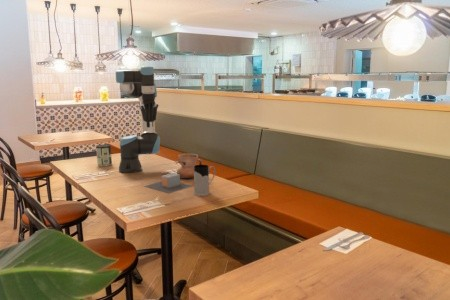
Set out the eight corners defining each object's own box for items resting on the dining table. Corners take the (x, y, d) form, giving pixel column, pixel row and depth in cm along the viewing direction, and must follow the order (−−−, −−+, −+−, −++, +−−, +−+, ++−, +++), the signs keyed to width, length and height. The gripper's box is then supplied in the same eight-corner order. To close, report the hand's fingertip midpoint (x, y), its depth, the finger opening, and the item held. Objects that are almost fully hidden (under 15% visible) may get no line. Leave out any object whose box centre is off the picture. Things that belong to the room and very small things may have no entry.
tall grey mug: (190, 193, 203) (189, 166, 201) (209, 187, 213) (209, 162, 210) (201, 196, 197) (200, 168, 194) (220, 191, 207) (220, 164, 204)
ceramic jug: (180, 181, 227) (179, 158, 224) (171, 176, 239) (171, 154, 236) (207, 178, 235) (207, 156, 232) (197, 173, 248) (197, 152, 245)
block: (161, 176, 215) (172, 172, 222) (161, 186, 216) (173, 182, 223) (167, 177, 211) (179, 174, 218) (168, 188, 212) (180, 184, 219)
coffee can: (105, 162, 282) (104, 143, 280) (115, 163, 277) (113, 145, 274) (94, 165, 274) (92, 146, 271) (103, 166, 268) (102, 147, 266)
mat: (143, 187, 216) (143, 186, 216) (167, 180, 230) (167, 179, 230) (168, 194, 202) (168, 193, 202) (192, 186, 216) (192, 186, 216)
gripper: (143, 93, 216) (145, 134, 221) (161, 92, 226) (162, 131, 230) (135, 93, 221) (137, 133, 226) (153, 92, 231) (154, 130, 235)
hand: (150, 132), depth 228 cm, fingers closed
